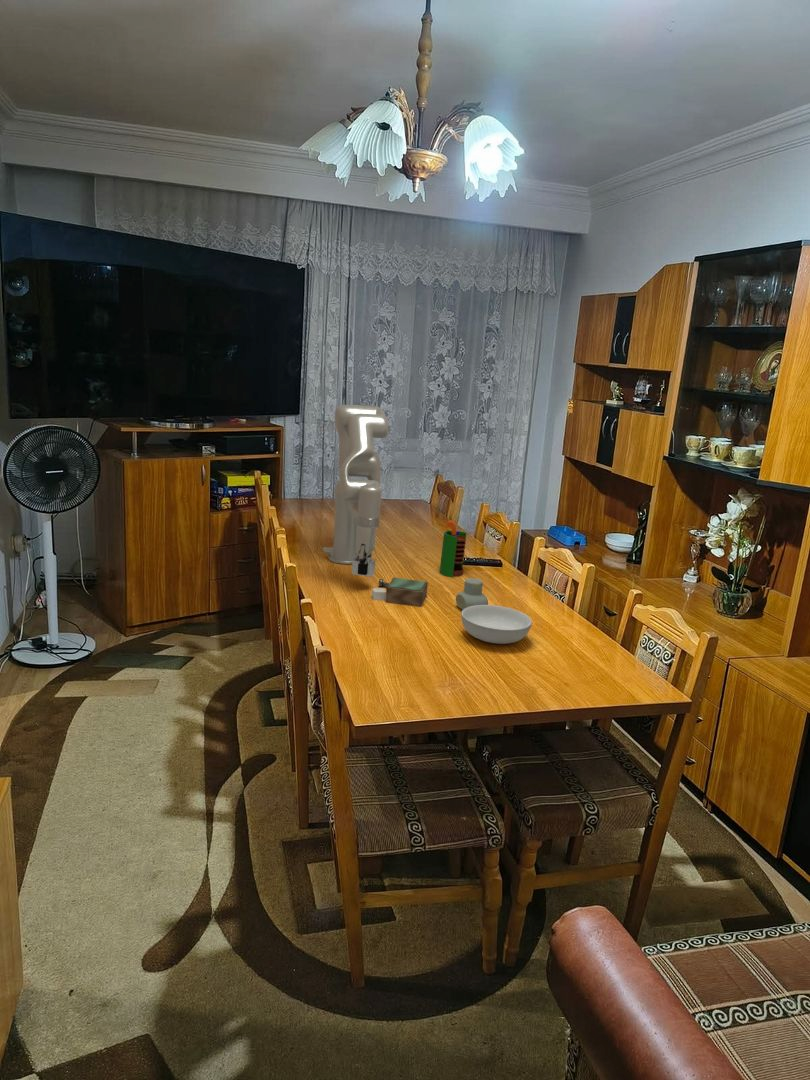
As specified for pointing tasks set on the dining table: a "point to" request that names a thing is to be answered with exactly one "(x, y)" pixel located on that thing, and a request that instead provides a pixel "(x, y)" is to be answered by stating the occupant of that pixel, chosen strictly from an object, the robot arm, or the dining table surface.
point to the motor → (452, 551)
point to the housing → (369, 570)
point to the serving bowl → (495, 623)
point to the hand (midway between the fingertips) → (364, 571)
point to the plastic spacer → (378, 594)
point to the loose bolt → (383, 583)
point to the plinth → (406, 592)
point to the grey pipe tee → (471, 594)
